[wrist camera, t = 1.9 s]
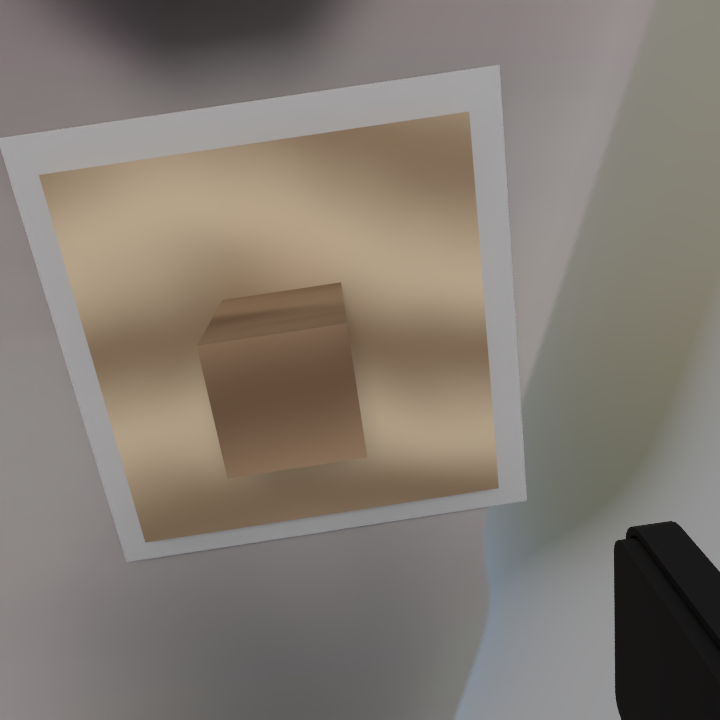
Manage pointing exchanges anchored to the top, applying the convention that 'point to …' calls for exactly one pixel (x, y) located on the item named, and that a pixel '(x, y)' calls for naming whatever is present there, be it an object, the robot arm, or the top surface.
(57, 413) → the top surface
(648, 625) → the robot arm
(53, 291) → the mat
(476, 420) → the lid
